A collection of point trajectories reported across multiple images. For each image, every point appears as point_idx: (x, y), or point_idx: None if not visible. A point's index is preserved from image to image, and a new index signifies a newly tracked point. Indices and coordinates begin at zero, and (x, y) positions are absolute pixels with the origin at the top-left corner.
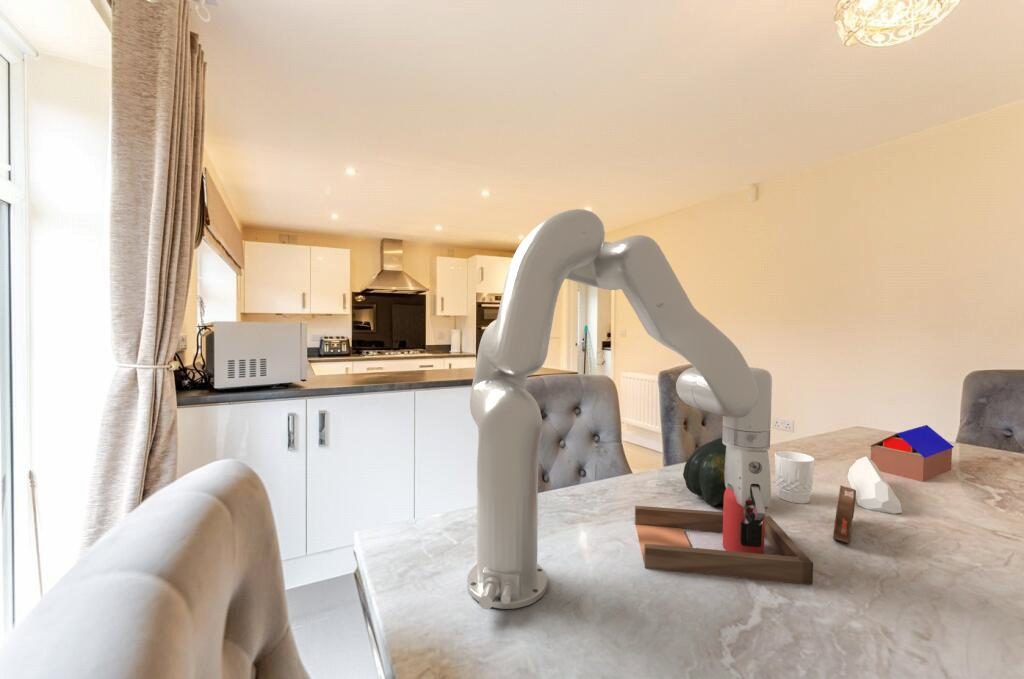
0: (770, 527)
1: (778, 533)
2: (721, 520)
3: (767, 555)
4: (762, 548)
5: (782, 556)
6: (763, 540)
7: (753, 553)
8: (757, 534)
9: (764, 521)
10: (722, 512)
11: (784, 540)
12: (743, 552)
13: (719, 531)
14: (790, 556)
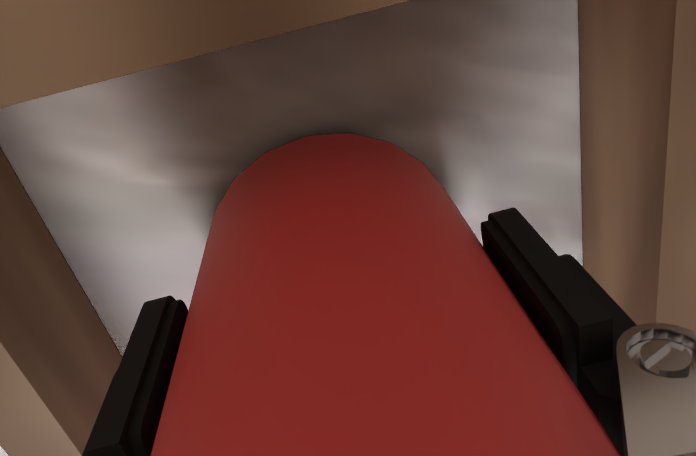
0: (45, 94)
1: (208, 41)
2: (90, 412)
3: (682, 181)
4: (410, 167)
5: (687, 73)
6: (407, 184)
7: (665, 265)
8: (606, 296)
9: (424, 267)
10: (13, 446)
11: (353, 3)
12: (659, 318)
13: (118, 360)
14: (680, 3)
